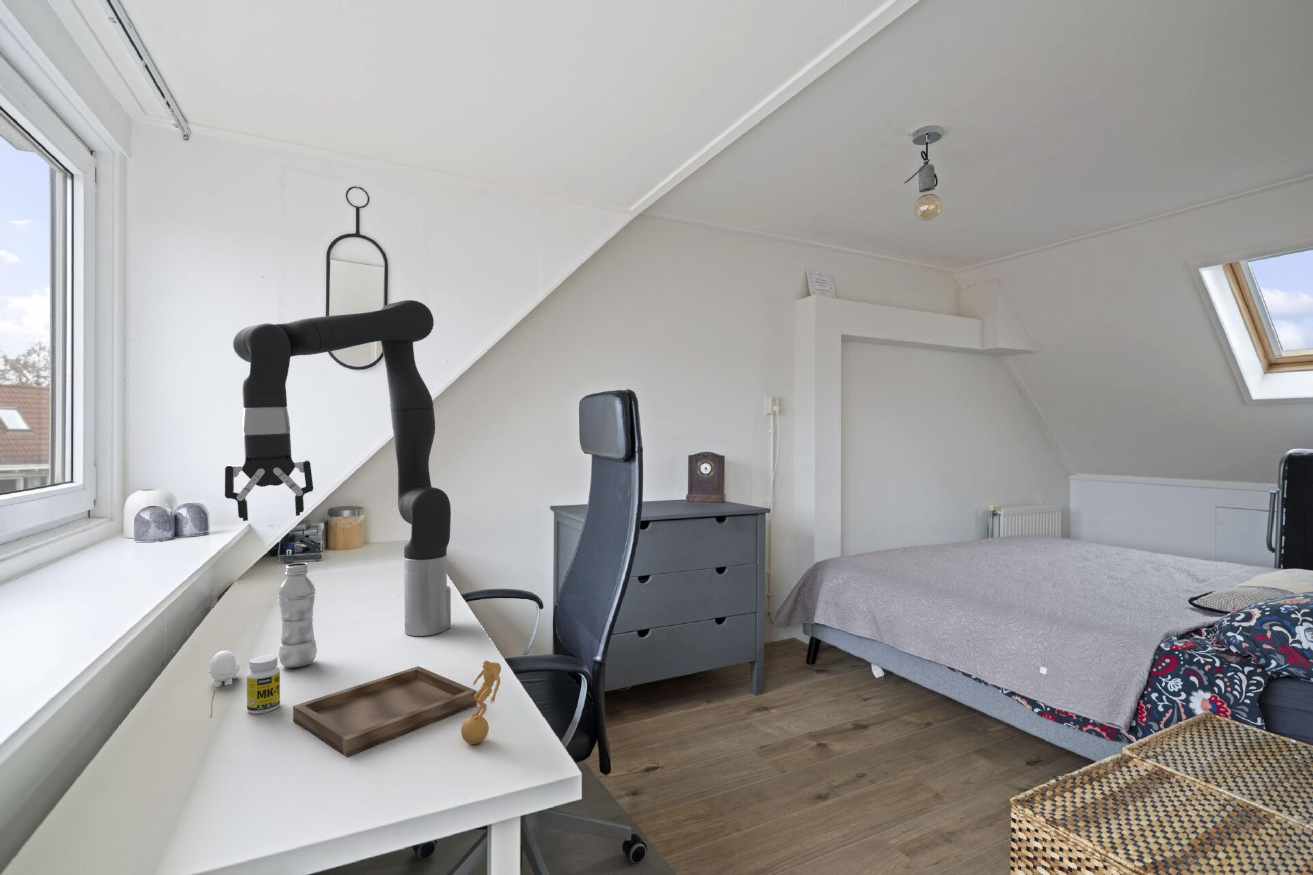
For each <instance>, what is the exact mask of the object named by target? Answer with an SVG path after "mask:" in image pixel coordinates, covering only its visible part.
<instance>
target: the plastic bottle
mask: <svg viewBox="0 0 1313 875" xmlns="http://www.w3.org/2000/svg"><path fill="white" fill-rule="evenodd" d="M308 573H309V571H308V563H306V562H295V563H290V564H286V566H285V576H286V579H285V580H283V582H282V584H281V585H280V586H279V589H278V592H277V597H278V604H279V609H280V616H281V617H280V618H281V638H280V640H281V641H280V645H279V651H278V652H279V653H278V658H279V663H281V665H282V666H283V667H284V668H292V669H293V668H301V667H305V666H308V665H310V664H313V662H314V661H315V659H316V658H317V653H318V648H317V642H316V639H315V633H314V624H313V621H314V618H313V616H314V605H315V597H316V587H315V585H314V583H313V582H312V580H311V579H310V578H309V577H308V576H307V574H308Z"/></svg>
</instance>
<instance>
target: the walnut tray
mask: <svg viewBox="0 0 1313 875" xmlns="http://www.w3.org/2000/svg"><path fill="white" fill-rule="evenodd" d="M477 692H478V690H476V689H474V688H471V687H469V686H467V685H464V684H462V683H460V682H458V681H454V680H452V679H450V678H447V677H445V676H443V675H440V674H438V673H436V672H433V671H431V670H429V669H425V668H423V667H421V666H420V665H419V666H418V665H417V666H414V667H411V668H408V669H405V670H402V671H399V672H396V673H392V674H390V675H385V676H382V677H380V678H379V677H378V678H376V679H373V680H370V681H367V682H364V683H361V684H357V685H354V686H351V687H348V688H345V689H343V690H339V691H336V692H333V693H329V694H326V695H324V696H320V697H316V698H314V699H310V700H306V701H303V702H301V703H297V704H295V705H292V722H293V723H295V724H297V725H298V726H299V727H300V728H302V729H304V730H305V731H307V732H308V733H310V734H311V735H313V736H315V737H316V738H318V740H320V741H322V742H324V744H326V745H328V746H330V748H333V749H334V750H335V751H337V752H338V753H340V754H341V755H343V756H345V757H346V758H348V757H351V756H354V755H357V754H358V753H361V752H364V751H366V750H369V749H371V748H373V747H376V746H379V745H380V744H381V745H382V744H384V743H387V742H389V741H392V740H394V739H396V738H399V737H401V736H404V735H406V734H409V733H411V732H414V731H417V730H419V729H421V728H424V727H426V726H429V725H432V724H433V723H436V722H438V721H441V720H444V719H446V718H449V717H451V716H453V715H456V714H459V713H461V712H464V711H465V710H469V709H471V708H474V707H476V705H478V703H477V701H475V699H474V695H475V694H476V693H477ZM473 706H474V707H473ZM468 708H469V709H468Z"/></svg>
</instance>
